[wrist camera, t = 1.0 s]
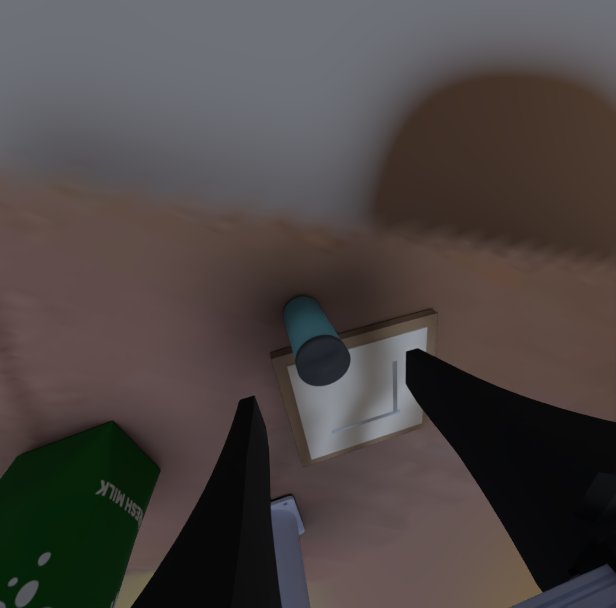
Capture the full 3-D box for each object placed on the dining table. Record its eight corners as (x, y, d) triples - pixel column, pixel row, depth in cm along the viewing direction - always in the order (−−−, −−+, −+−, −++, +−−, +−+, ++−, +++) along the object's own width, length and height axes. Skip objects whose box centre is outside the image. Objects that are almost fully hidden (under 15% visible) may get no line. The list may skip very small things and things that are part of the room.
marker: (285, 331, 20) (302, 392, 14) (277, 297, 18) (292, 349, 13) (321, 321, 20) (352, 377, 14) (316, 288, 19) (348, 334, 13)
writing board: (301, 459, 26) (303, 469, 26) (270, 352, 20) (271, 360, 19) (424, 419, 28) (430, 426, 27) (431, 308, 22) (439, 314, 21)
